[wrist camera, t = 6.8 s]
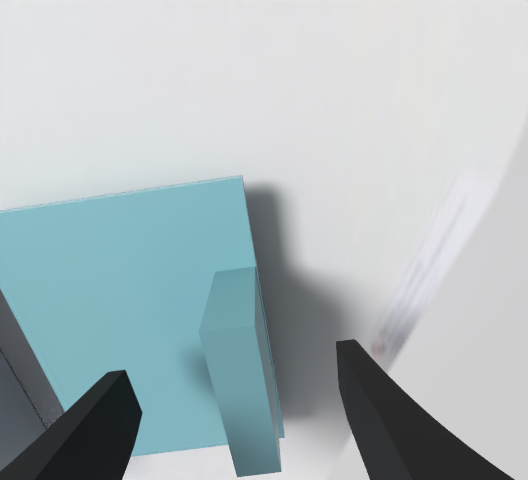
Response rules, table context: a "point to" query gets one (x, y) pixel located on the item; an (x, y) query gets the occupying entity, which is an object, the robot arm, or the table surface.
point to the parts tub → (15, 417)
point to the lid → (152, 312)
